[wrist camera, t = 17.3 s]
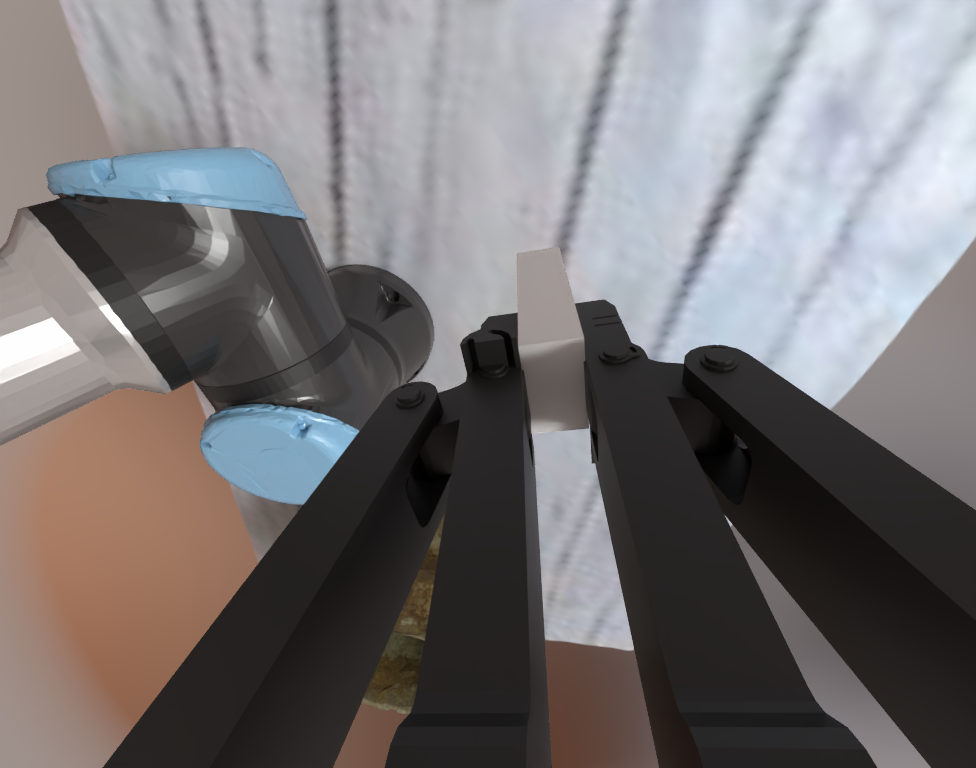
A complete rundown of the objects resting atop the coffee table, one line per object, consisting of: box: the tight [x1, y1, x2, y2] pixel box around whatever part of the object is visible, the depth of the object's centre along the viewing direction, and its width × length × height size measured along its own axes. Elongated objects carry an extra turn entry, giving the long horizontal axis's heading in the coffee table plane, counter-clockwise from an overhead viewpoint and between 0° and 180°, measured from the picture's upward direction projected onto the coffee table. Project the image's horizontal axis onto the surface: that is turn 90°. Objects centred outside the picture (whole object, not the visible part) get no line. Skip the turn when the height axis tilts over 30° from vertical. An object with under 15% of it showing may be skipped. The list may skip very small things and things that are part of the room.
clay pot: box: [361, 513, 445, 714], centre depth 58 cm, size 25×25×25 cm
